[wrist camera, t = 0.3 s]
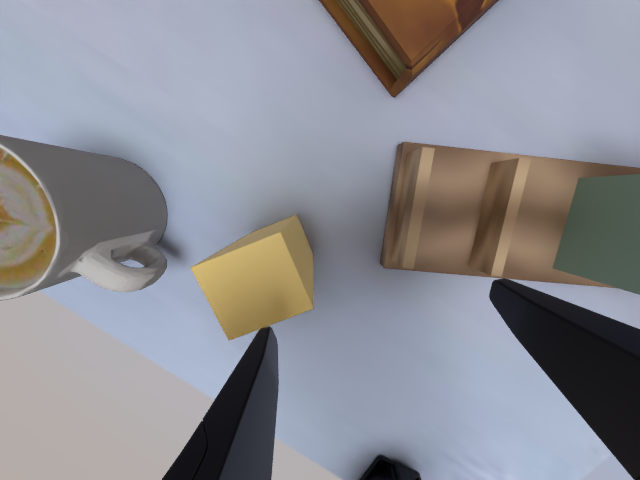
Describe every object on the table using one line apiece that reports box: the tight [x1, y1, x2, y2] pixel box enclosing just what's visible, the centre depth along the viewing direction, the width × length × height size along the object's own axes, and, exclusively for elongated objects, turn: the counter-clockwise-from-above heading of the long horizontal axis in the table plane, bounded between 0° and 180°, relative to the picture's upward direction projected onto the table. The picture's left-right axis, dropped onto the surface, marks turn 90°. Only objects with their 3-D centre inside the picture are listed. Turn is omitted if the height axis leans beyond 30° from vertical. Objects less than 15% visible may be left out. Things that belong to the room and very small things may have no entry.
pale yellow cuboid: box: [191, 214, 313, 340], centre depth 18 cm, size 4×5×12 cm
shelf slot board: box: [380, 142, 640, 288], centre depth 17 cm, size 12×28×16 cm, turn 84°
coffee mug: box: [0, 135, 167, 301], centre depth 18 cm, size 13×10×10 cm
